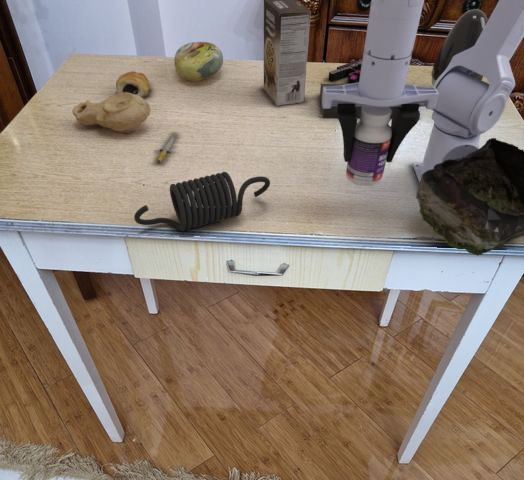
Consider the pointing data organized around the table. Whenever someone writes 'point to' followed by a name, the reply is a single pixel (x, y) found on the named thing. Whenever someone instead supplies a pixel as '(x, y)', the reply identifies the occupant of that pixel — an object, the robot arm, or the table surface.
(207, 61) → the cell model
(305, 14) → the coffee box
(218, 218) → the coil
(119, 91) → the pastry
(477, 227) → the rock
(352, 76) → the logo
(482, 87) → the robot arm
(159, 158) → the dagger
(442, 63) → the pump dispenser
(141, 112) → the oil lamp
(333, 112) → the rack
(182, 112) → the table surface
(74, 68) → the table surface
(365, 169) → the pill bottle
